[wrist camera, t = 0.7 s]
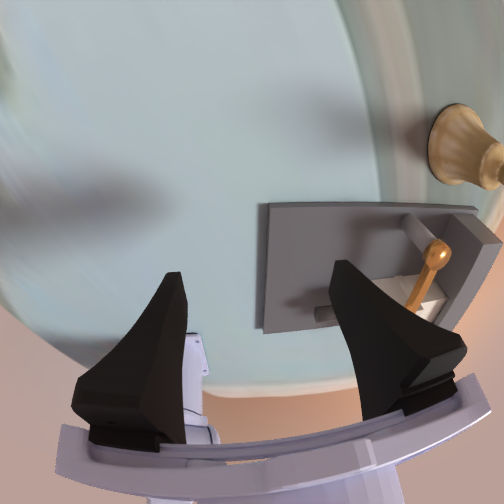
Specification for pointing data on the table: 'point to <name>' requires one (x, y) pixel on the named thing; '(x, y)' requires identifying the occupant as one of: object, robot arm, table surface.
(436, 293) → the plug
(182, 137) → the table surface
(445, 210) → the grey base plate
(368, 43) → the table surface
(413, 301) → the ball-topped lever
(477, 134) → the hand bell
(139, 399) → the robot arm
